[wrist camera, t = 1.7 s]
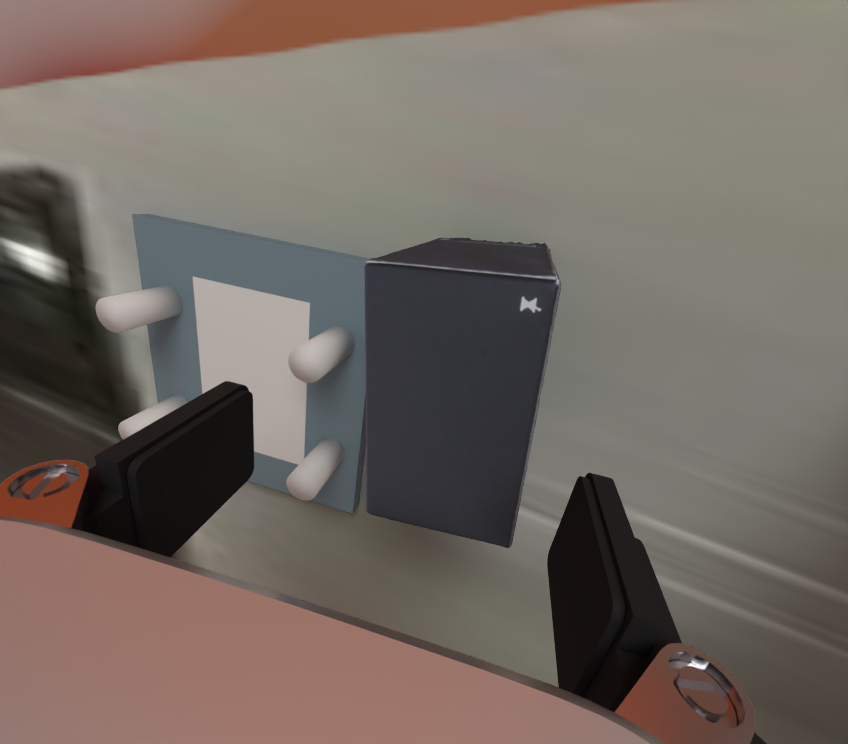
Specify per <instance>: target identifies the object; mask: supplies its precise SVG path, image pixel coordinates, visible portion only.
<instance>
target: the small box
mask: <svg viewBox="0 0 848 744" xmlns="http://www.w3.org/2000/svg"><path fill="white" fill-rule="evenodd" d="M364 271H365V361H366V511H367V513H369V514H372V515H376V516H379V517H383V518H386V519H390V520H395V521H399V522H402V523H407V524H411V525H414V526H420V527H424V528H428V529H432V530H437V531H441V532H445V533H449V534H453V535H458V536H462V537H466V538H470V539H475V540H479V541H484V542H487V543H491V544H496V545H499V546H503V547H506V548H509V547H510V546H511V545H512V541H513V536H514V531H515V526H516V521H517V516H518V511H519V506H520V501H521V495H522V489H523V485H524V479H525V475H526V470H527V463H528V458H529V454H530V449H531V444H532V438H533V433H534V428H535V423H536V417H537V411H538V406H539V399H540V394H541V389H542V385H543V380H544V374H545V369H546V365H547V360H548V354H549V349H550V344H551V338H552V332H553V327H554V320H555V316H556V311H557V306H558V300H559V295H560V290H561V282H560V281H559V277H558V274H557V272H556V269H555V266H554V264H553V262H552V259H551V255H550V249H549V248H548V246H547V245H546V244H545V243H544V244H542V245H541V244H539V243H535V244H522V243H516V244H515V243H513V242H509V243H502V242H489V241H486V240H484V241H477V240H471V239H469V238H449V239H447V238H438V239H436V240H433V241H430V242H427V243H423V244H420V245H417V246H414V247H410V248H408V249H404V250H401V251H397V252H394V253H390V254H388V255H385V256H382V257H378V258H372V259H369V260H367V261H366V262H365V266H364Z"/></svg>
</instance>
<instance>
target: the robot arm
mask: <svg viewBox="0 0 848 744" xmlns="http://www.w3.org/2000/svg"><path fill="white" fill-rule="evenodd" d="M95 461H96V466H94V467H93V468H91V469H88V467H87V466H86V465H85V464H83V463H81V462H78V461H73V460H55V461H49V462H44V463H40V464H37V465H34V466H30V467H27V468H25V469H23V470H21V471H19V472H17V473H15V474H13V475H12V476H10V477H9V478H7V479H6V480H4V482H3V483H2V484H1V485H0V744H766V743H765V742H764V741H763V740H762V739H761V738H760V737H759V736H758V735H757V734H756V733H755V728H756V716H755V712H754V709H753V705H752V703H751V701H750V700H749V698H748V696H747V694H746V692H745V691H744V689H743V688H742V686H741V685H740V684H739V683H738V681H737V680H736V679H735V678H734V676H733V675H732V674H731V673H730V672H729V671H728V670H727V669H726V668H725V667H723V666H722V665H721V664H720V663H719V662H718V661H717V660H715V659H714V658H712V657H711V656H709V655H708V654H707V653H705V652H703V651H701V650H699V649H697V648H695V647H693V646H690V645H686V644H682V642H681V640H680V637H679V635H678V632H677V630H676V627H675V624H674V622H673V619H672V617H671V614H670V612H669V609H668V606H667V604H666V601H665V599H664V596H663V594H662V591H661V588H660V586H659V583H658V581H657V578H656V576H655V573H654V570H653V568H652V565H651V563H650V560H649V558H648V555H647V552H646V550H645V547H644V545H643V544H642V542H641V541H640V540H639V539H636V538H635V537H634V535H633V532H632V529H631V527H630V524H629V521H628V519H627V516H626V513H625V510H624V508H623V505H622V502H621V500H620V497H619V494H618V492H617V489H616V486H615V483H614V481H613V479H611V478H608V477H604V476H600V475H596V474H592V473H588V474H587V475H586V477H581V476H580V477H578V479H577V481H576V484H575V486H574V489H573V491H572V494H571V496H570V499H569V502H568V504H567V507H566V509H565V512H564V514H563V517H562V519H561V522H560V525H559V527H558V530H557V532H556V535H555V537H554V540H553V542H552V545H551V548H550V550H549V554H548V562H547V564H548V576H549V587H550V598H551V608H552V619H553V630H554V641H555V651H556V662H557V673H558V684H559V688H558V687H556V686H553V685H551V684H548V683H546V682H543V681H540V680H537V679H534V678H531V677H529V676H526V675H523V674H520V673H517V672H514V671H511V670H509V669H506V668H503V667H500V666H497V665H494V664H492V663H489V662H486V661H483V660H480V659H477V658H475V657H472V656H469V655H466V654H463V653H460V652H457V651H454V650H451V649H448V648H445V647H442V646H439V645H436V644H433V643H430V642H427V641H424V640H421V639H418V638H415V637H412V636H409V635H406V634H403V633H400V632H397V631H394V630H391V629H388V628H385V627H382V626H379V625H376V624H373V623H370V622H367V621H364V620H361V619H358V618H355V617H352V616H349V615H346V614H342V613H339V612H336V611H333V610H330V609H327V608H324V607H321V606H318V605H315V604H312V603H309V602H306V601H303V600H300V599H297V598H294V597H291V596H288V595H284V594H281V593H278V592H275V591H272V590H269V589H266V588H263V587H260V586H257V585H254V584H251V583H248V582H245V581H241V580H238V579H235V578H232V577H229V576H226V575H223V574H220V573H217V572H213V571H210V570H207V569H204V568H201V567H198V566H195V565H192V564H188V563H185V562H182V561H179V560H176V559H173V558H170V557H171V556H172V555H173V554H174V553H175V552H176V551H177V550H178V549H179V548H180V547H181V546H182V545H183V544H184V543H185V542H186V541H187V540H188V539H189V538H190V537H191V536H192V535H193V534H194V533H195V532H196V531H197V530H198V529H199V528H200V527H201V526H202V525H203V524H204V523H205V522H206V521H207V520H208V519H209V518H210V517H211V516H212V515H213V514H214V513H215V512H216V511H217V510H218V509H219V508H220V507H221V506H222V505H223V504H224V503H225V502H226V501H227V500H228V499H229V498H230V497H231V496H232V495H233V494H234V493H235V492H236V491H237V490H238V489H239V488H240V487H241V486H242V485H243V484H244V483H246V482H247V481H248V479H249V478H250V477H251V475H252V473H253V470H254V425H253V395H252V393H251V392H249V389H248V387H247V386H245V385H242V384H238V383H234V382H230V381H225V382H223V383H221V384H219V385H217V386H216V387H214V388H212V389H210V390H209V391H207V392H205V393H203V394H202V395H200V396H198V397H196V398H195V399H193V400H191V401H189V402H188V403H186V404H184V405H183V406H181V407H179V408H177V409H176V410H174V411H172V412H170V413H169V414H167V415H165V416H163V417H162V418H160V419H158V420H156V421H155V422H153V423H151V424H150V425H148V426H146V427H144V428H143V429H141V430H139V431H137V432H136V433H134V434H132V435H130V436H129V437H127V438H125V439H123V440H122V441H120V442H118V443H117V444H115V445H113V446H111V447H110V448H108V449H106V450H104V451H103V452H101V453H99V454H97V455H96V456H95Z"/></svg>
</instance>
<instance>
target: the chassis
mask: <svg viewBox="0 0 848 744" xmlns="http://www.w3.org/2000/svg"><path fill="white" fill-rule="evenodd" d="M132 217H133V224H134V231H135V239H136V246H137V253H138V261H139V268H140V275H141V282H142V290H140V291H135V292H130V293H125V294H120V295H115V296H110V297H105V298H101V299H99V300H98V302H97V304H96V313H97V316H98V319H99V320H100V322H101V323H102V325H103V326H104V327H105V328H107V329H108V330H110V331H112V332H115V333H119V332H123V331H126V330H129V329H133V328H136V327H140V326H143V325H146V324H147V326H148V334H149V341H150V348H151V355H152V363H153V370H154V377H155V385H156V392H157V399H158V403H157V404H155V405H153V406H151V407H150V408H148V409H146V410H144V411H142V412H140V413H138V414H136V415H134V416H132V417H130V418H128V419H126V420H124V421H122V422H121V423H120V424H119V427H118V429H119V433H120V436H121V437H122V439H125V438H127V437H129V436H130V435H132V434H134V433H136V432H137V431H139V430H141V429H143V428H144V427H146V426H148V425H150V424H151V423H153V422H155V421H156V420H158V419H160V418H162V417H163V416H165V415H167V414H169V413H170V412H172V411H174V410H176V409H177V408H179V407H181V406H183V405H184V404H186V403H188V402H189V401H191V400H193V399H195V398H196V397H198V396H200V395H202V394H203V393H205V392H207V391H209V390H210V389H212V388H214V387H216V386H217V385H219V384H221V383H223V382H225V381H230V382H234V383H238V384H242V385H245V386H247V387H248V389H249V392H251V393H252V395H253V425H254V470H253V473H252V475H251V477H250V478H249V479H248V481H249V482H253V483H256V484H259V485H262V486H265V487H269V488H272V489H275V490H278V491H281V492H285V493H288V494H291V495H293V496H295V497H296V498H298V499H300V500H304V501H308V500H310V501H313V502H317V503H320V504H323V505H326V506H329V507H333V508H336V509H339V510H342V511H345V512H349V513H352V514H353V512H354V511H355V509H356V507H357V505H358V504H359V498H360V489H361V480H362V472H363V463H364V454H365V445H366V361H365V271H364V266H365V262H366V261H367V260H369V259H367V258H362V257H357V256H352V255H347V254H342V253H337V252H332V251H328V250H323V249H318V248H313V247H308V246H303V245H298V244H293V243H288V242H283V241H278V240H273V239H268V238H263V237H258V236H254V235H249V234H244V233H239V232H234V231H229V230H224V229H219V228H214V227H209V226H204V225H199V224H194V223H189V222H184V221H180V220H175V219H170V218H165V217H160V216H155V215H150V214H132Z"/></svg>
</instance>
